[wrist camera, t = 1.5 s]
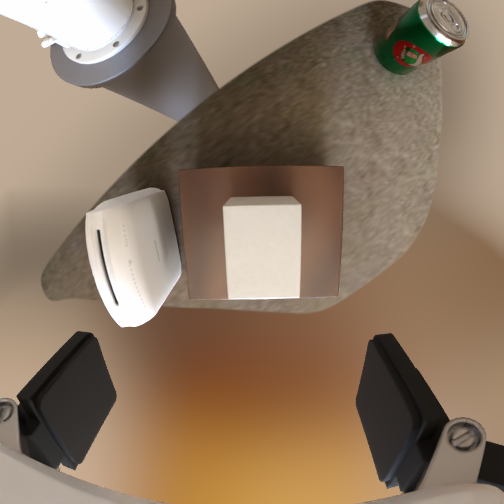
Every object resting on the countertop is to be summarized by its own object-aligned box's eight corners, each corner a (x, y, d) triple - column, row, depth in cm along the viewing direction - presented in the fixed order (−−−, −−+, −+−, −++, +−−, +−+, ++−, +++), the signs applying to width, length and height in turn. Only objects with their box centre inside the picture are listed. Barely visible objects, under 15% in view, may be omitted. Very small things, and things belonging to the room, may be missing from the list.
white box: (234, 273, 25) (227, 299, 20) (230, 197, 23) (222, 205, 19) (292, 272, 25) (299, 298, 20) (293, 195, 23) (301, 204, 18)
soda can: (395, 32, 23) (447, -11, 11) (419, 68, 24) (481, 38, 13) (363, 44, 24) (410, -4, 12) (389, 82, 25) (449, 50, 13)
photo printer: (187, 277, 32) (150, 338, 20) (152, 280, 32) (103, 338, 20) (169, 183, 29) (114, 197, 17) (132, 191, 29) (65, 210, 17)
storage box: (201, 275, 32) (189, 299, 26) (194, 168, 29) (178, 170, 23) (325, 273, 31) (338, 296, 26) (327, 165, 28) (343, 166, 22)
